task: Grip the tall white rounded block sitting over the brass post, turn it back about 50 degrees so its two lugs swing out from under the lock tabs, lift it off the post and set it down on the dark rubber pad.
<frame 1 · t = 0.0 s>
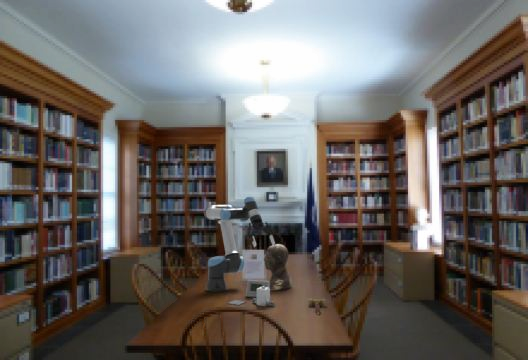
hand: (264, 245, 247), 36 cm above the table, tool tilted 35°, fingers open, 13 cm apart
digital clock: (258, 297, 259), on the table
portrait bust: (277, 285, 294), on the table
gavel: (317, 310, 228), on the table
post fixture: (263, 304, 240), on the table
pad: (236, 303, 244), on the table
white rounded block: (263, 304, 240), on the table
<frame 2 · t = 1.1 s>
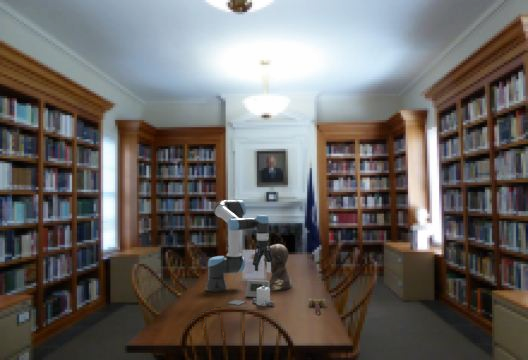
hand: (263, 274, 241), 19 cm above the table, tool pointing down, fingers open, 13 cm apart
nothing on the table moved.
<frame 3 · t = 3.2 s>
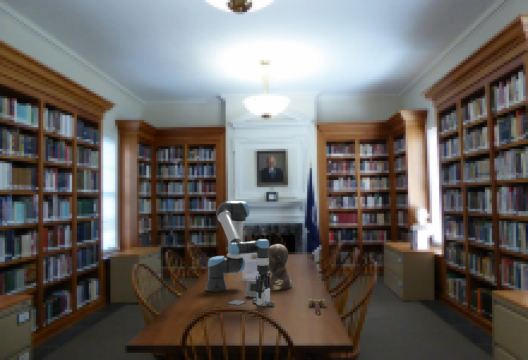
hand: (263, 302, 240), 1 cm above the table, tool pointing down, fingers closed on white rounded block, 6 cm apart
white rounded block: (263, 304, 240), on the table, touching gripper
everything else where it was.
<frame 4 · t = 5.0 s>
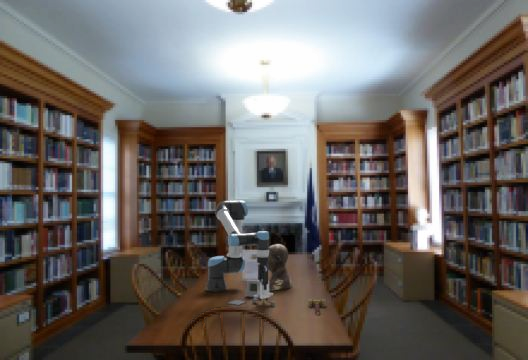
hand: (263, 293, 241), 7 cm above the table, tool pointing down, fingers closed on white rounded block, 6 cm apart
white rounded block: (263, 296, 241), point 5 cm above the table, touching gripper
everything else where it was.
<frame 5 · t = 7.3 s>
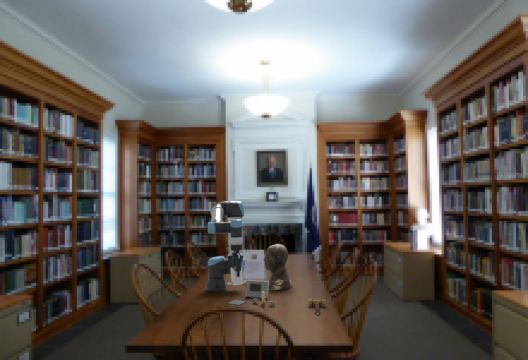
hand: (236, 280, 244), 14 cm above the table, tool pointing down, fingers closed on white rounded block, 6 cm apart
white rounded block: (236, 283, 244), point 12 cm above the table, touching gripper
everything else where it was.
when the fingers open (3 cm above the table, at t = 9.4 s): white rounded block stays where it is, resting on pad.
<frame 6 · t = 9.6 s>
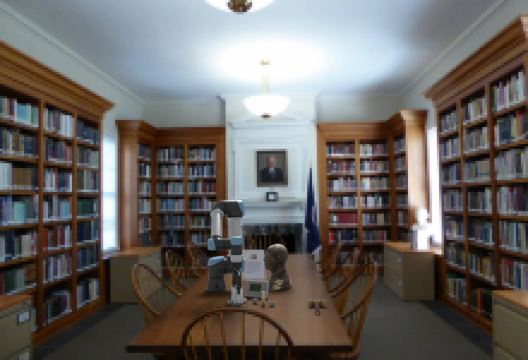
hand: (236, 297, 244), 3 cm above the table, tool pointing down, fingers open, 8 cm apart
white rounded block: (237, 302, 244), point 1 cm above the table, touching pad
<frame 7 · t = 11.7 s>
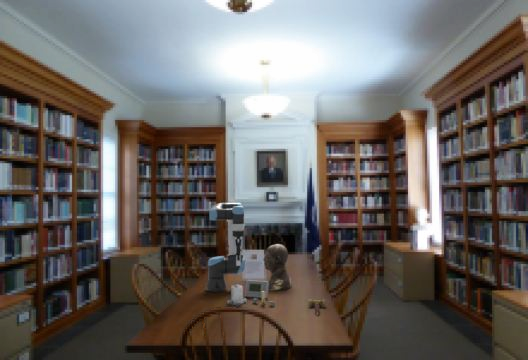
hand: (238, 263, 249), 24 cm above the table, tool pointing down, fingers open, 13 cm apart
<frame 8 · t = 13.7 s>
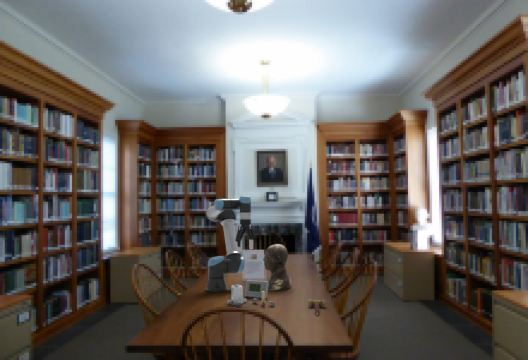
hand: (245, 250, 261), 31 cm above the table, tool pointing down, fingers open, 13 cm apart
at the end: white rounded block inside the target area on the pad (0.2 cm from its centre), point 0.6 cm above the pad's base; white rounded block tilted 0°; the gripper is holding nothing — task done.
